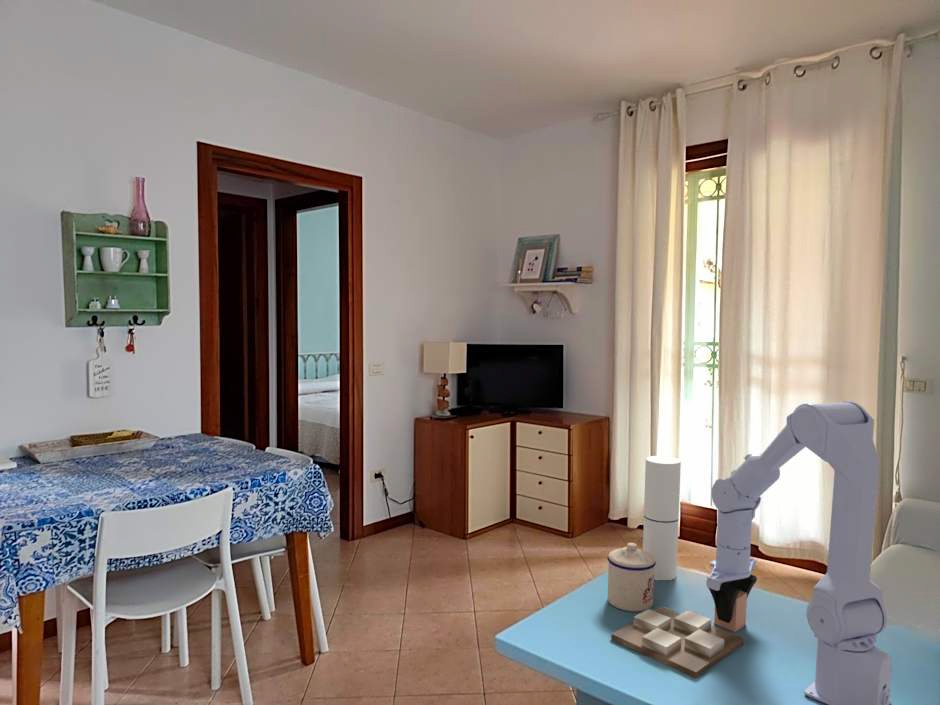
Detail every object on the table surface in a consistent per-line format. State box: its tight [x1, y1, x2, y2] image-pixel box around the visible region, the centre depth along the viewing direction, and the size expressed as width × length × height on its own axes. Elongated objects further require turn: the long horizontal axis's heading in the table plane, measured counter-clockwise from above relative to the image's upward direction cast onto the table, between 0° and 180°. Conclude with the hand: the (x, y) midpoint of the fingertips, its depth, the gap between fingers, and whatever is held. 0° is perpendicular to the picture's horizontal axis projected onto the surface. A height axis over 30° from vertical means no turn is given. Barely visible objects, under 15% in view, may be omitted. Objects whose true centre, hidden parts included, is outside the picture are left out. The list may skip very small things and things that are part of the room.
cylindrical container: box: [642, 455, 682, 581], centre depth 145 cm, size 7×7×25 cm
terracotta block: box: [713, 591, 748, 632], centre depth 123 cm, size 4×4×6 cm
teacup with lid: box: [607, 542, 656, 612], centre depth 133 cm, size 12×9×12 cm
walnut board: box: [610, 605, 745, 679], centre depth 117 cm, size 16×16×2 cm
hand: (730, 616), depth 123 cm, fingers closed on terracotta block, 4 cm apart
